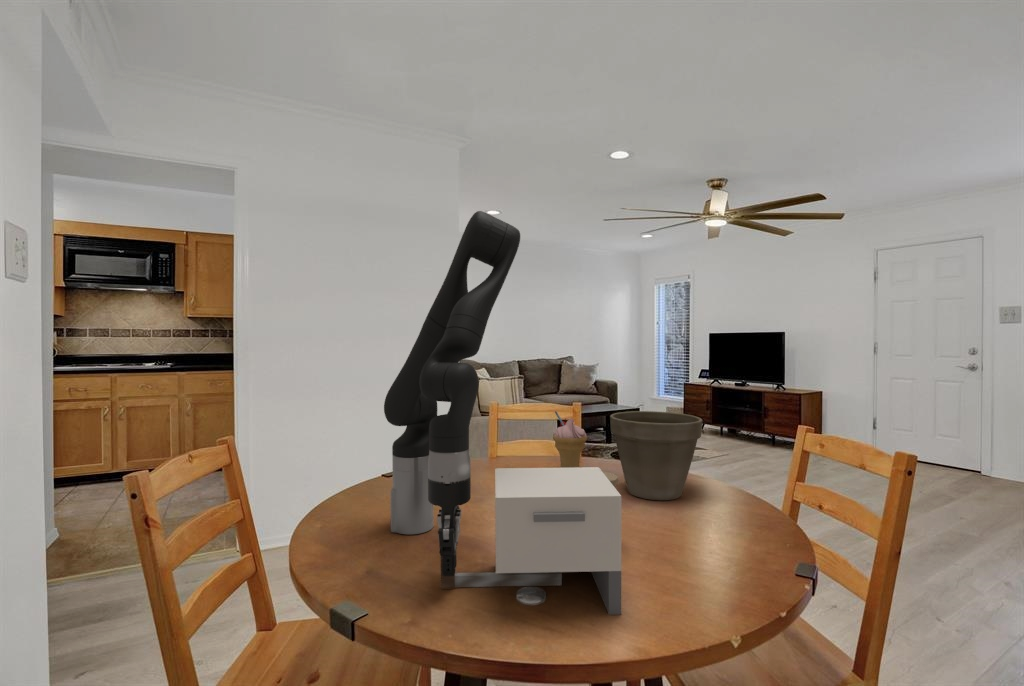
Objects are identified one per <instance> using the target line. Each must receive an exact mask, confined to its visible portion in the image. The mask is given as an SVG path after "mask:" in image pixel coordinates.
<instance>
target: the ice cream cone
mask: <svg viewBox="0 0 1024 686" xmlns="http://www.w3.org/2000/svg"><path fill="white" fill-rule="evenodd" d="M554 414H555V416H556V417H557V419H558V420H559V422H560V424H559V425H560V426H558V427H557V428H556V430H555V431H554V433H553V435H552V440H553V441H554V447H555V448H556V450H557V451H558V454H559V459H560V461H559V462H560V468H574V467H580V462H581V461H580V460H581V453H582V452H583V450H584V449H585V448H586V443H585V442H587V440H588V435H587V433H586V431H585V430H584V428H581V427H580V426H579V425H576V424H574V422H575V419H573V418H569V419H568V420H567V421H566V419H564V421H563V419H562V418H561V417H560V415H559V413H558V412H557V411H556V410H555V411H554Z"/></svg>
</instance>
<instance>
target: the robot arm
mask: <svg viewBox="0 0 1024 686" xmlns="http://www.w3.org/2000/svg"><path fill="white" fill-rule="evenodd" d="M520 244H521V233H520V230H519V229H518V228H516V227H515V226H514V225H512V224H510V223H508V222H506V221H504V220H501V219H500V218H497V217H496V216H493V215H491V214H489V213H487V212H485V211H482V210H476V212H474V213H473V214H472V216H471V217H470V218H469V221H468V222H467V224H466V226H465V228H464V231H463V233H462V236H461V239H460V241H459V243H458V246H457V248H456V251H455V254H454V256H453V259H452V261H451V264H450V266H449V268H448V271H447V274H446V276H445V278H444V280H443V283H442V284H441V287H440V289H439V290H438V293H437V295H436V297H435V299H434V301H433V303H432V305H431V307H430V309H429V311H428V313H427V316H426V318H425V320H424V321H423V323H422V326H421V329H420V331H419V334H418V336H417V338H416V340H415V342H414V344H413V346H412V348H411V350H410V353H409V354H408V356H407V358H406V360H405V362H404V364H403V366H402V367H401V369H400V370H399V373H398V374H397V375H396V378H395V379H394V381H393V382H392V384H391V385H390V387H389V389H388V391H387V394H386V396H385V399H384V402H383V403H384V404H383V411H384V412H383V413H384V417H385V419H386V420H387V422H388V423H389V424H391V425H393V426H395V427H406V428H405V430H404V431H403V432H402V434H401V435H400V436H399V437H398V438H397V439H395V440H394V441H393V443H392V448H391V450H392V451H391V452H392V453H391V455H392V488H391V489H390V533H396V534H400V535H401V534H402V535H419V534H424V533H426V532H429V531H431V530H432V529H433V528H434V507H435V506H437V507H440V509H439V510H438V514H437V517H436V519H437V520H436V521H437V522H436V523H437V525H438V530H437V535H438V542H439V543H438V544H439V552H438V553H439V555H440V557H441V556H442V574H443V576H454V575H455V573H456V568H457V553H458V552H457V546H458V544H459V536H460V533H461V518H462V509H461V508H460V506H462V505H466V504H467V503H469V501H470V500H471V496H472V495H471V492H472V491H471V487H472V486H471V477H472V476H471V472H472V471H471V456H470V437H469V436H470V424H471V419H472V415H473V410H474V407H475V404H476V400H477V397H478V392H479V388H480V387H479V386H480V381H479V380H480V379H479V376H478V373H477V371H476V368H475V367H474V366H473V365H471V364H470V363H467V362H461V361H462V360H465V359H469V358H472V357H475V355H477V354H478V352H479V350H480V348H481V344H482V341H483V338H484V336H485V335H484V334H485V331H486V328H487V326H488V325H487V324H488V321H489V318H490V315H491V312H492V310H493V307H494V305H495V303H496V301H497V298H498V297H499V295H500V293H501V290H502V288H503V285H504V284H505V281H506V279H507V276H508V274H509V272H510V269H511V267H512V264H513V262H514V260H515V259H516V258H515V257H516V255H517V253H518V250H519V247H520ZM472 258H473V259H475V260H477V261H479V262H482V263H484V264H486V265H488V266H490V267H492V270H491V271H490V273H489V275H488V276H487V277H486V278H485V279H484V280H483V281H482V282H481V283H480V284H478V285H477V286H475V287H474V288H472V289H470V291H469V290H468V289H469V288H468V268H469V267H468V266H469V263H470V260H471V259H472ZM438 402H444V403H445V402H446V403H450V407H449V408H448V412H447V413H445V414H439V415H438ZM454 534H455V535H454ZM445 547H451V548H445Z"/></svg>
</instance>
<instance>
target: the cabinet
mask: <svg viewBox="0 0 1024 686" xmlns="http://www.w3.org/2000/svg"><path fill="white" fill-rule="evenodd" d="M603 472H604V471H602V469H601V468H600V467H599V466H598V467H597V466H595V467H594V466H592V467H591V466H590V467H587V466H586V467H583V466H582V467H580V466H579V467H574V468H561V467H512V468H511V467H510V468H509V467H507V468H504V467H503V468H502V467H499V468H498V467H497V468H495V471H494V473H495V474H494V476H495V477H494V479H495V480H494V481H495V484H494V485H495V487H494V488H495V492H494V493H495V494H494V496H495V500H494V501H495V503H494V504H495V506H494V507H495V508H494V509H495V513H494V515H495V516H494V519H495V525H494V526H495V534H494V535H495V572H496V573H537V572H561V573H579V572H580V573H581V572H589V573H590V572H591V574H592V577H593V579H594V582H595V584H596V587H597V589H598V591H599V594H600V597H601V599H602V601H603V603H604V605H605V608H606V611H607V614H608V615H612V616H615V615H622V495H621V494H620V492H619V491H618V490H617V488H616V486H613V485H612V483H611V482H610V481H609V480H608V478H607V477H606V476H605V474H604V473H603Z"/></svg>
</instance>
